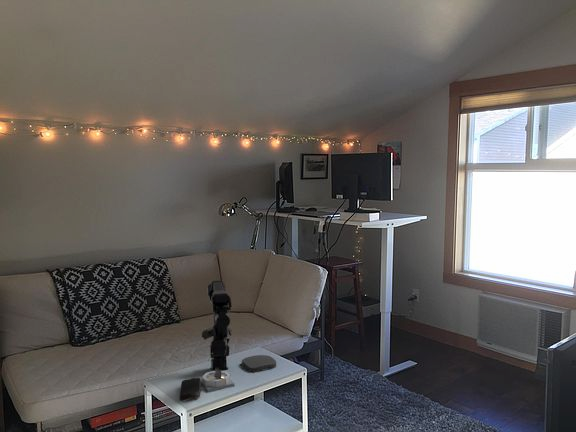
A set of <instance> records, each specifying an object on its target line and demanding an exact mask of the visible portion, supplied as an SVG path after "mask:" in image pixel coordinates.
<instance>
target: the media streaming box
mask: <svg viewBox="0 0 576 432" xmlns="http://www.w3.org/2000/svg"><path fill="white" fill-rule="evenodd" d="M241 365H242V366H243V368H244V369H245V370H247V371H248V372H251V373H255V372H256V373H257V372H258V373H259V372H262V371H267V370H271V369H275V368H276V367H277V360H276V359H274V357H272V356H271V355H265V354H258V355H251V356H248V357H244V358H243V359H241Z"/></svg>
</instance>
